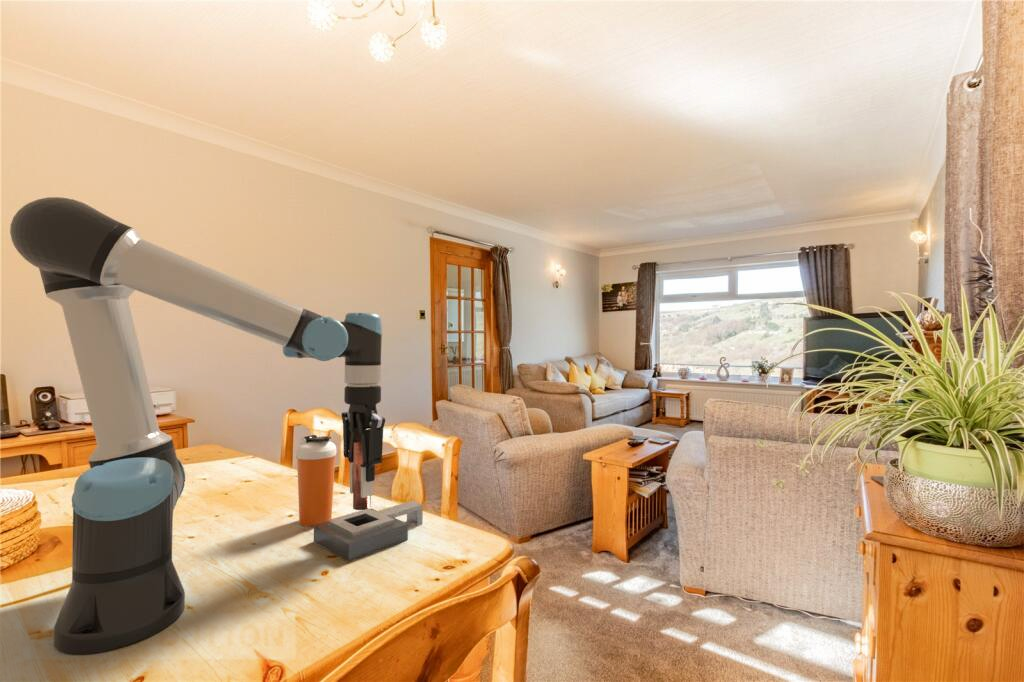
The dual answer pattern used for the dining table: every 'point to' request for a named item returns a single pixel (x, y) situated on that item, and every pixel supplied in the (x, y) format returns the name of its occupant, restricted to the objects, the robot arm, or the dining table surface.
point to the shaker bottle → (315, 479)
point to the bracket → (377, 518)
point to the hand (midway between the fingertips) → (361, 493)
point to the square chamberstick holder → (359, 539)
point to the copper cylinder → (358, 479)
